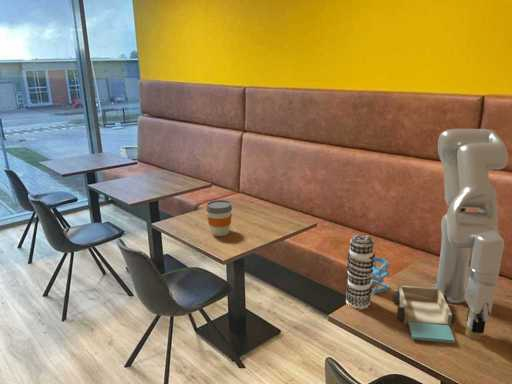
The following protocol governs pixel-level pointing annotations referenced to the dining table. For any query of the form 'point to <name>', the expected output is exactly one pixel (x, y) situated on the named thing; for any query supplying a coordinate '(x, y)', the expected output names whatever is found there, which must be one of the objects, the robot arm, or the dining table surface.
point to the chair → (380, 275)
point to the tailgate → (430, 331)
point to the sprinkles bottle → (469, 327)
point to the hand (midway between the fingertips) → (474, 326)
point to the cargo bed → (423, 305)
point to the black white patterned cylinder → (360, 271)
